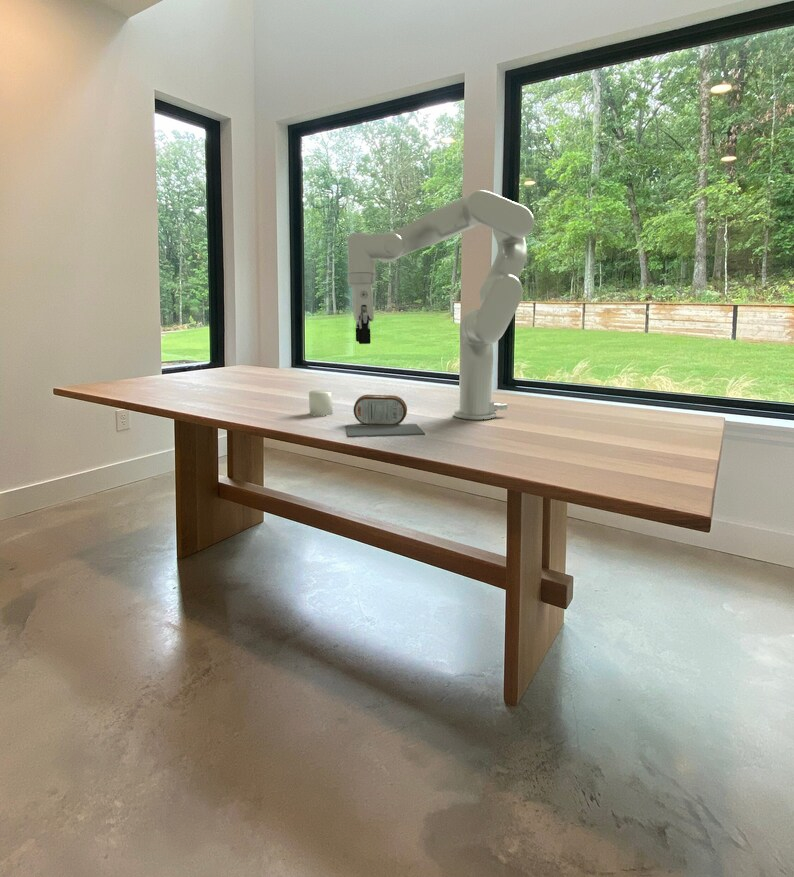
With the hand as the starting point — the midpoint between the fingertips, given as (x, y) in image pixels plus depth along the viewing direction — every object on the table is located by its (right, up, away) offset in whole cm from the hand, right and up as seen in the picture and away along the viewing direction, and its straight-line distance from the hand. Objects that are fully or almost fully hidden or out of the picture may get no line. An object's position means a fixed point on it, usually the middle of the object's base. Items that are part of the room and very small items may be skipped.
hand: (363, 342), depth 168 cm
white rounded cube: (-14, -20, +14) cm, 28 cm away
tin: (+5, -24, -1) cm, 24 cm away
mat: (+6, -25, -9) cm, 28 cm away
